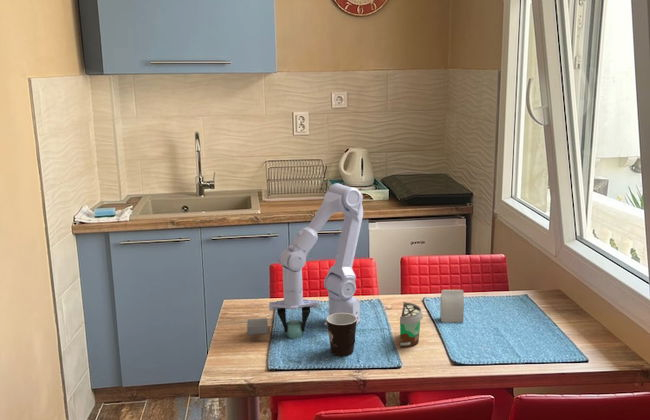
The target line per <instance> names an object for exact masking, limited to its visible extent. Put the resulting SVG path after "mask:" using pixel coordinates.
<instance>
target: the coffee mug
mask: <svg viewBox="0 0 650 420" xmlns="http://www.w3.org/2000/svg"><path fill="white" fill-rule="evenodd" d="M326 322H327V325H326V326H327V331H328V338H329V346H330V351H331V354H332V355H334V356H337V357H347V356H350V355H352V354H354V351H355V350H354V349H355V343H356V331H357V325H358V324H357V317H356V316H355V315H353V314H349V313H335V314H332V315H329V314H328V316H327V317H326ZM356 324H357V325H356Z"/></svg>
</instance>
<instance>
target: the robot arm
mask: <svg viewBox="0 0 650 420" xmlns="http://www.w3.org/2000/svg"><path fill="white" fill-rule="evenodd" d="M363 199H364V196H363V194H362V193H361V191H360V190H359V189H358V188H357V187H352V186H348V185H343V184H342V183H337V182H336V183H334V184H332V185H331V186H330V187H329V188H328V190H327V191H326V192H325V194H324V198H323V202H321V205H320V206H319V208H318V209H317V211H316V213H315V214H314V216H313V217H312V219H311V221H310V222H309V224H308V226H306V227H303V228H301V229H300V230H298V231H297V233H296V236H295V237H294V239H293V241H292V242H291V243H290V244H289V245H288V246H287V247H286V249H283V250H282V251H281V253H280V255H279V258H278V263H279V264H280V266H281V267H282V269H281V270H282V286H283V287H282V288H283V299H282V300H277V301H270V302H269V304H268V307H269V311H274V310H276V311H277V316H278V317H279V319H280V321H281V323H282V326H283V331H284V333H286V334H287V315H286V314H287V313H286V312H287V311H286V310H298V309H301V322H302V333H304V332H305V329H306V323H307V321H308V318H309V316H310V314H311V309H319V301H318V299H304V298H303V297H304V294H303V291H304V290H303V268H304V267H305V265H306V262H307V257H308V255H309V253H310V251H311V250H312V248H313V247H314V246H315V244H316V243H317V241H318V236H319V235H318V233H319V232H320V230H321V229H322V228H323V227H324V225H325V224H326V223H327V222H328V220H329V219H330V218H331V216H333V214H335V213H340V212H341V213H342V214H343V215H344V217H343V222H342V223H343V224H342V228H341V234H340V236H339V237H340V238H339V241H338V247H337V252H336V257H335V262H334V264H333V265H332V266H331V267H329V270H328V272H327V275H326V276H325V277H324V280H323V285H324V289H326V291H327V294H328V316H329V315H332V314H335V313H349V314H353V315H355V316H356V317H357V324H356V326H357V325H358V324H359V323H360V322H361V321H362V319H361V305H360V304H361V303H360V302H361V301H360V299H359V298H357V297H354V295H355V293H356V291H357V286H356V279H357V276H356V273H355V271H354V270H353V266H354V260H355V255H356V250H357V246H358V241H359V237H360V231H361V227H362V222H363V217H364V208H363ZM324 325H325V326H327V321H325V322H324Z"/></svg>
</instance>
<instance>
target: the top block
mask: <svg viewBox="0 0 650 420" xmlns="http://www.w3.org/2000/svg"><path fill="white" fill-rule="evenodd" d="M268 322H269V321H268V317H265V318H263V317H262V318H250V319H249V318H248V319H247V324H246V334H248V335H258V334H268V326H269V324H268Z"/></svg>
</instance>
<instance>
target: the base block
mask: <svg viewBox="0 0 650 420" xmlns="http://www.w3.org/2000/svg"><path fill="white" fill-rule="evenodd" d="M271 333H272V332H271V325H268V334H258V335H248V334H247V333H246V338H245V339H246V343H247V344H249V343H265V342H266V343H268V342H271V335H272V334H271Z"/></svg>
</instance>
